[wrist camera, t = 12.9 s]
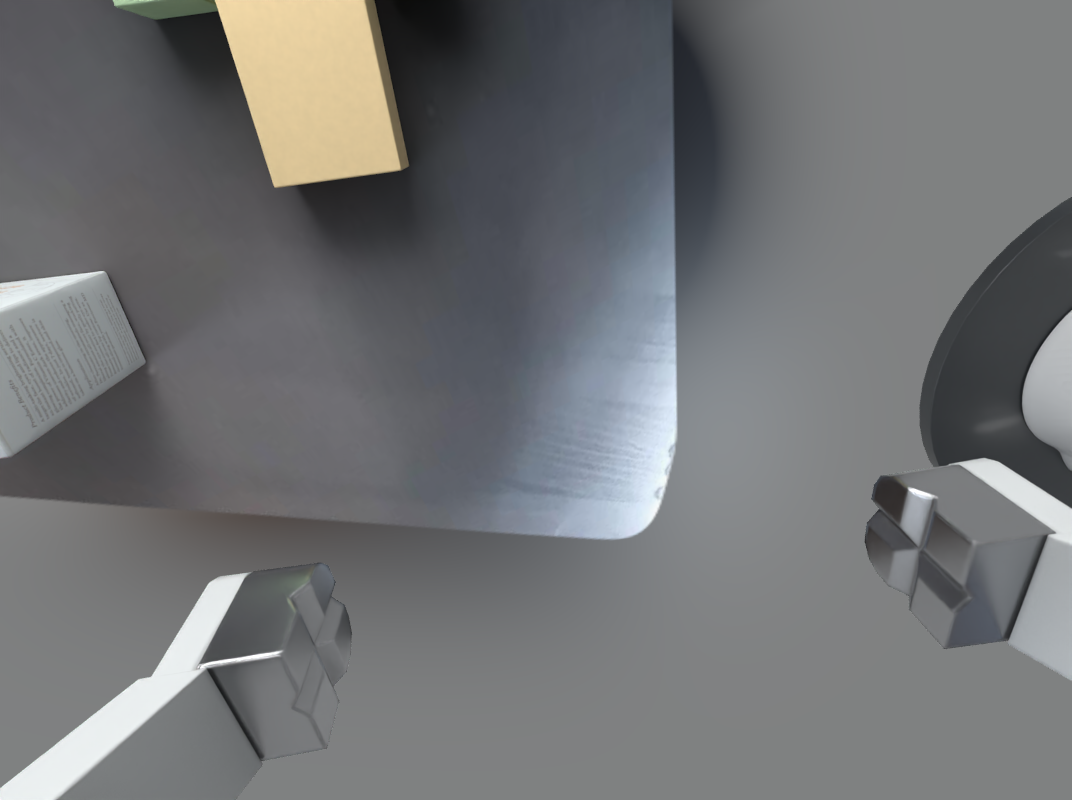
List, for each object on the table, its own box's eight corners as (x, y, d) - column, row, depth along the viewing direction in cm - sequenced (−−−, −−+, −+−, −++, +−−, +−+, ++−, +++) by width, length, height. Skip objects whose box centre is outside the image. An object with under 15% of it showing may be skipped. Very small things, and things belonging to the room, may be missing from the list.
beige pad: (345, -141, 23) (326, -176, 20) (409, 166, 29) (401, 170, 26) (202, -123, 23) (164, -156, 20) (294, 182, 28) (274, 188, 26)
